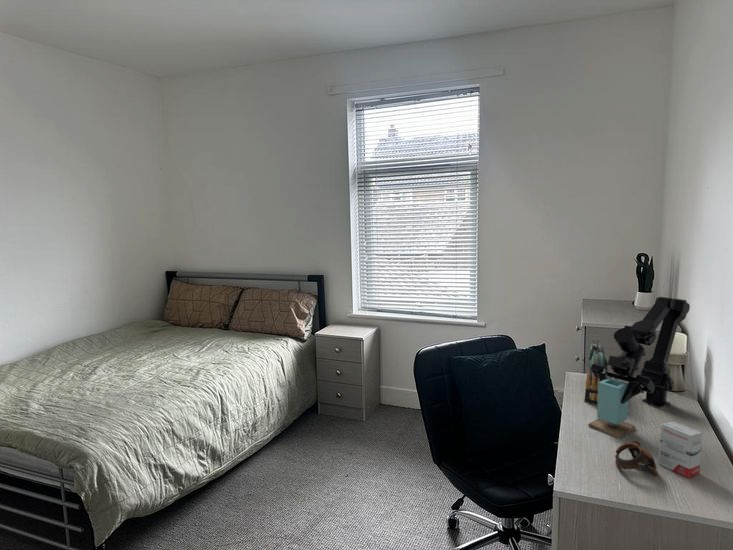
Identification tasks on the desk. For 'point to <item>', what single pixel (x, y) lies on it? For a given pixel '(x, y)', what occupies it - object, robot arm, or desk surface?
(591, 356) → the green lumpy upright piece
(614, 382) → the teal square planter
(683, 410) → the desk surface
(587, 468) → the desk surface
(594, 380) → the ammunition clip
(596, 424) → the peg plate
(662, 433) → the ink box
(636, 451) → the brown ridged hollow part
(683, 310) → the robot arm
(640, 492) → the desk surface
